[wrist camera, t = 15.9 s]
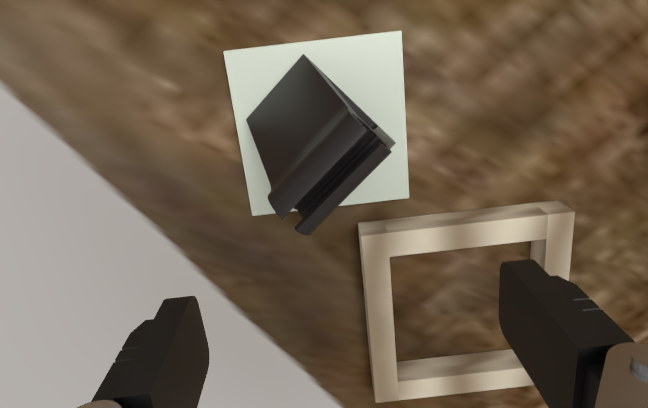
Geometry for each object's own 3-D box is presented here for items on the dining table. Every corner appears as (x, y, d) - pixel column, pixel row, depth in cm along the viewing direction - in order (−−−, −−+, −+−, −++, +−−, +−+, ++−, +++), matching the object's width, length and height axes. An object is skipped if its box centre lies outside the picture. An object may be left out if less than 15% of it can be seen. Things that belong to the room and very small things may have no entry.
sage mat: (398, 30, 32) (401, 30, 32) (406, 193, 37) (409, 198, 36) (225, 50, 33) (223, 51, 32) (253, 211, 37) (252, 215, 36)
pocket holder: (558, 199, 37) (574, 211, 35) (546, 362, 43) (559, 382, 41) (357, 222, 38) (361, 236, 35) (372, 382, 43) (375, 402, 41)
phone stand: (395, 141, 34) (439, 199, 23) (338, 198, 36) (352, 278, 24) (304, 52, 32) (303, 68, 21) (246, 117, 33) (215, 164, 22)
